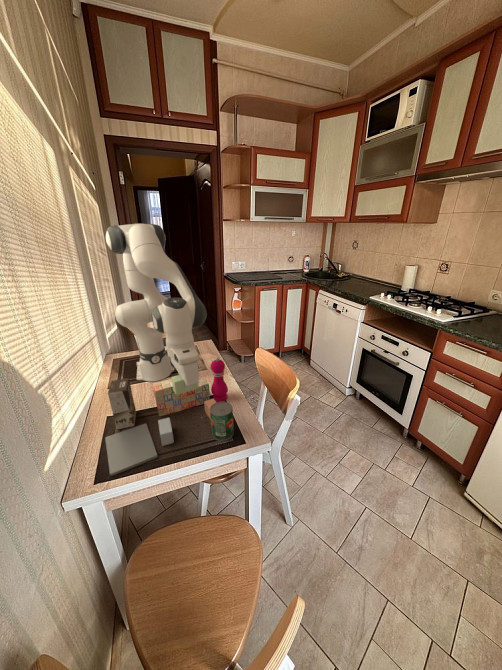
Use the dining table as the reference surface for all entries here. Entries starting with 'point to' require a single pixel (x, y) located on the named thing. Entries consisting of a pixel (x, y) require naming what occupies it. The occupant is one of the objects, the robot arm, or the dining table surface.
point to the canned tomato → (222, 420)
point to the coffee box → (122, 403)
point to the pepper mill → (218, 381)
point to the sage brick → (181, 385)
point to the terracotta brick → (208, 405)
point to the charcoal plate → (129, 449)
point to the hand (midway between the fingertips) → (185, 384)
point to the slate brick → (165, 431)
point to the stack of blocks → (179, 396)
